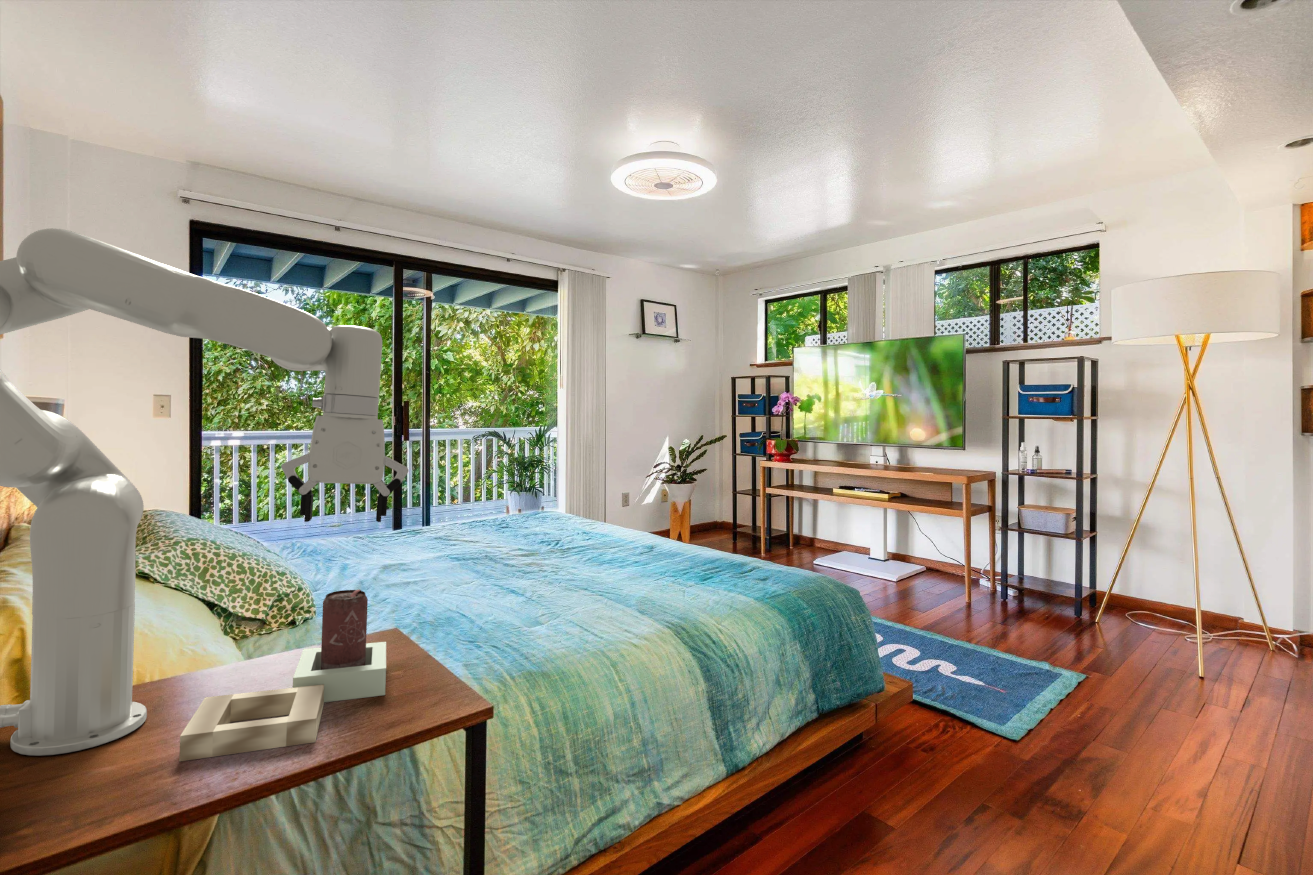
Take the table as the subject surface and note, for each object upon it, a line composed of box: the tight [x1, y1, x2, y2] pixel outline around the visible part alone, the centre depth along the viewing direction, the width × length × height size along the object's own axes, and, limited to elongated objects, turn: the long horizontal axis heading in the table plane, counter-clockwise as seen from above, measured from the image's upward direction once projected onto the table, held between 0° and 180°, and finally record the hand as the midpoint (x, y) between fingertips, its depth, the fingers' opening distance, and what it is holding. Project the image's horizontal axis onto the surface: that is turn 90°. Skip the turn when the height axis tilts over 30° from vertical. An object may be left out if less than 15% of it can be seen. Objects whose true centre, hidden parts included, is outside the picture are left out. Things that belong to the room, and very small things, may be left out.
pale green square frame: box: [292, 641, 387, 703], centre depth 96 cm, size 12×12×4 cm
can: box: [320, 589, 368, 670], centre depth 96 cm, size 6×6×14 cm
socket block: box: [178, 684, 325, 762], centre depth 81 cm, size 14×11×3 cm
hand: (344, 520), depth 95 cm, fingers open, 9 cm apart
